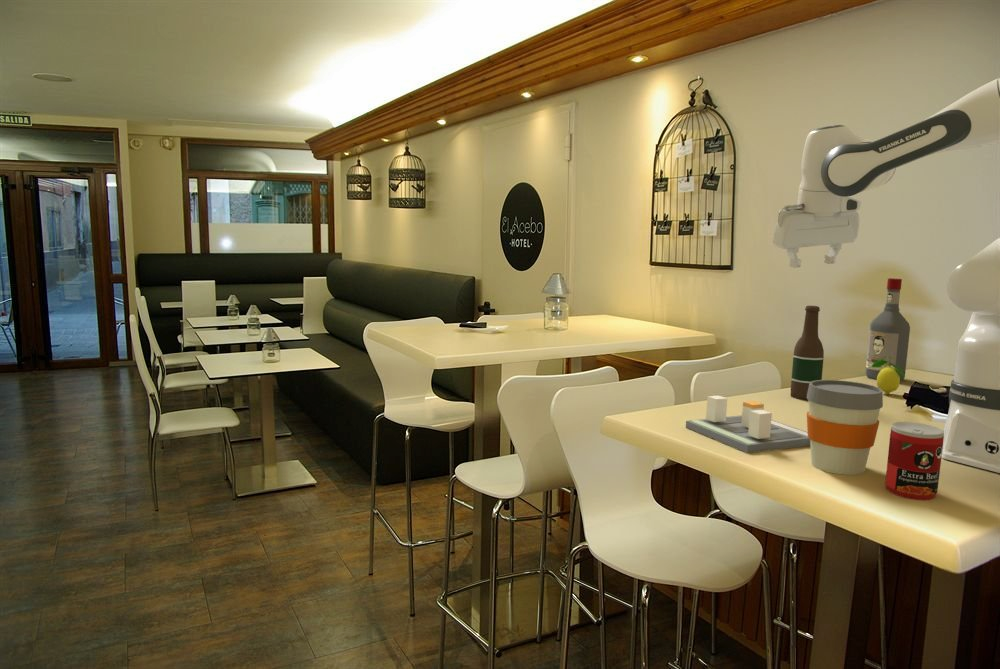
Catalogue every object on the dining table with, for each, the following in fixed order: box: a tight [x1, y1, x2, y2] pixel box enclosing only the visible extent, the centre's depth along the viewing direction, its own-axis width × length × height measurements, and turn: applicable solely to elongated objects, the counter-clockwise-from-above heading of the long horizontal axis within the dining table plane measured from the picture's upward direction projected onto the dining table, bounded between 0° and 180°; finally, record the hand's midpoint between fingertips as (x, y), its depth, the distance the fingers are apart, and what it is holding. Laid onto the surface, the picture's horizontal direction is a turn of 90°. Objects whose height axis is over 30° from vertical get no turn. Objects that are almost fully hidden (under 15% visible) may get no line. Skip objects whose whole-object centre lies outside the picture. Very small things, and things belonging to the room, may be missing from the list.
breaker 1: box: [705, 395, 728, 422], centre depth 157 cm, size 3×3×5 cm
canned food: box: [884, 421, 944, 501], centre depth 121 cm, size 8×8×11 cm
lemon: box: [871, 358, 906, 395], centre depth 196 cm, size 7×6×10 cm
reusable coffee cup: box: [806, 379, 884, 476], centre depth 133 cm, size 12×13×15 cm
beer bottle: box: [790, 305, 825, 401], centre depth 189 cm, size 8×8×24 cm
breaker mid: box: [741, 400, 765, 428], centre depth 152 cm, size 3×3×5 cm
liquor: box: [864, 277, 911, 381], centre depth 217 cm, size 9×9×30 cm
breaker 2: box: [748, 409, 773, 439], centre depth 145 cm, size 3×3×5 cm
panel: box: [685, 414, 811, 454], centre depth 153 cm, size 19×19×2 cm
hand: (812, 265), depth 162 cm, fingers open, 8 cm apart
